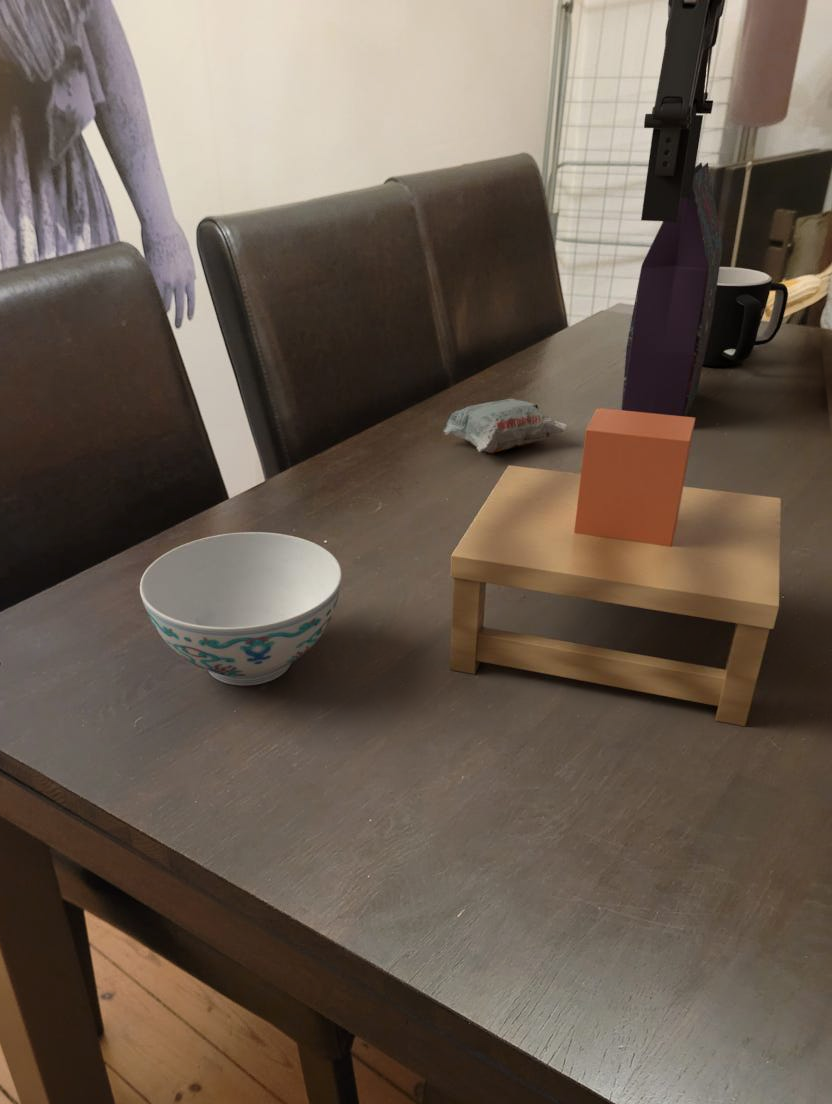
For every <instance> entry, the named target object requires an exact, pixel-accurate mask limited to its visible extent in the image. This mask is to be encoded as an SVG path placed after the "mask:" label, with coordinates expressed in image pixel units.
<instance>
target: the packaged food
mask: <svg viewBox="0 0 832 1104" xmlns="http://www.w3.org/2000/svg"><path fill="white" fill-rule="evenodd" d="M566 429H567V424H565V423H563V422H559V421H556V420H553V419H551V417H549V416H548V415H546V414H545V413H544V412H543V411H541V410H540V409H539V405H538V404H536V403H532V402H528V401H524V400H520V399H516V398H505V399H501V400H495V401H487V402H483V403H478V404H473V405H468V406H466V407H464V408H461V409H458V410H456V411H454V412H453V413H451V414H450V416H449V418H448V419H447V420H446V421H445V426H444V427H443V434H444V435H450V434H452V435H454V436H455V437H456V438H459V439H462V440H463V441H465V442H467V443H469V444H470V445H472V446H473V447H475V448H476V450H477V452H478V453H481V452H487V453H490V454H494V453H498V452H503V451H506V450H509V449H510V450H511V449H515V448H522V447H525V446H527V445H531V444H534V443H538V442H541V441H544V440H548V439H551V437H553V436H556V435H558V434H560V433H563V432H564V431H566Z"/></svg>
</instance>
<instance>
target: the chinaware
mask: <svg viewBox="0 0 832 1104" xmlns="http://www.w3.org/2000/svg"><path fill="white" fill-rule="evenodd" d="M342 578H343V573H342V569H341V565H340V563H339V562H338V560H337V558H336V557H335V556H334V555H333V554H332V553H331V552H330V551H328V550H327V549H325V548H324V547H323V546H321V545H319V544H317V543H315V542H312V541H310V540H307V539H305V538H302V537H297V536H293V535H289V534H285V533H284V534H282V533H275V532H266V531H265V532H264V531H248V532H247V531H245V532H232V533H224V534H223V533H222V534H217V535H212V536H207V537H203V538H200V539H196V540H192V541H190V542H186V543H184V544H182V545H180V546H177V547H175V548H172V549H171V550H169V551H167V552H166V553H164V554H162V555H161V556H160V557H158V558H156V559H155V560H154V561H153V562H152V563H151V564H150V565H149V566H148V567H147V568H146V569H145V571H144V573H143V574H142V576H141V578H140V583H139V594H140V597H141V601H142V603H143V606H144V608H145V610H146V613H147V615H148V617H149V619H150V621H151V623H152V624H153V626H154V628H155V629H156V631H157V632H158V634H159V636H160V637H161V638H162V639H163V640H164V642H165V643H166V644H167V645H168V646H169V647H170V648H171V649H172V650H173V651H174V652H175V653H177V654H178V655H179V656H180V657H182V658H183V659H184V660H186V661H188V662H189V663H191V664H192V665H194V666H196V667H197V668H201V669H202V670H205V671H208V673H209V674H210V675H211V677H213V679H216V680H218V681H219V682H221V683H224V684H228V685H233V686H257V685H262V684H265V683H268V682H271V681H273V680H275V679H277V678H280V676H282V675H284V673H286V672H287V671H288V670H289V668H290V666H291V664H292V663H293V662H295V661H297V660H298V659H299V658H301V657H302V656H303V655H304V654H306V653H307V652H308V651H309V650H311V648H312V647H313V646H314V645H315V644H316V643H317V641H318V640H319V638H321V636H322V635H323V633H324V632H325V630H326V629H327V627H328V625H329V624H330V621H331V620H332V617H333V615H334V612H335V609H336V606H337V604H338V600H339V596H340V593H341V586H342V581H343V580H342Z"/></svg>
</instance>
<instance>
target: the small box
mask: <svg viewBox="0 0 832 1104" xmlns="http://www.w3.org/2000/svg"><path fill="white" fill-rule="evenodd" d="M696 419H697V418H696V417H693V416H686V417H684V416H674V415H664V414H654V413H644V412H634V411H624V410H622V409H613V408H603V407H597V408H596V410H595V412H594V414H593V416H592V417H591V419H590V422H589V423H588V425H587V427H586V429H585V435H584V442H583V443H584V444H583V452H582V461H581V470H580V474H581V477H580V486H579V494H578V503H577V512H576V520H575V529H574V533H579V534H586V535H593V536H600V537H607V538H615V539H622V540H629V541H636V542H643V543H650V544H657V545H664V546H671V545H672V541H673V537H674V532H675V528H676V524H677V520H678V514H679V509H680V503H681V497H682V492H683V487H685V486H684V485H685V480H686V479H685V478H686V474H687V469H688V463H689V457H690V452H691V447H692V440H693V436H694V435H693V434H694V429H695V424H696Z"/></svg>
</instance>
